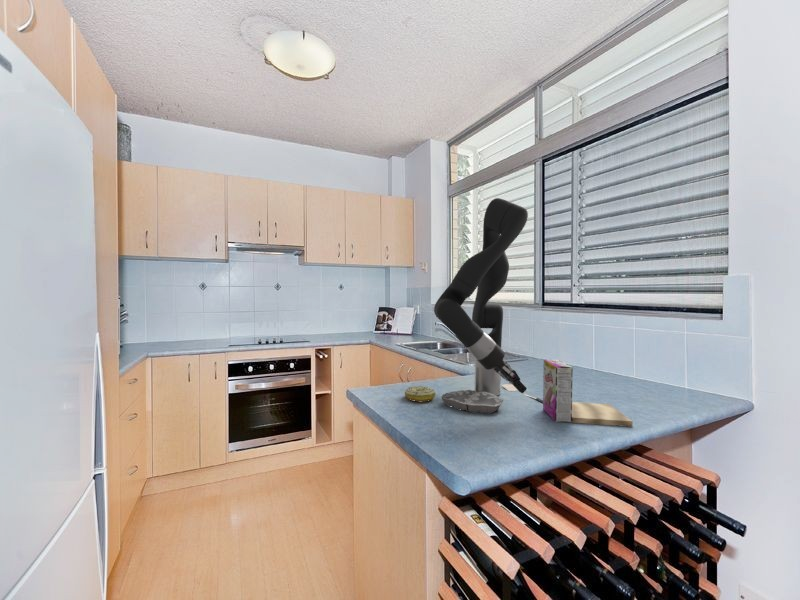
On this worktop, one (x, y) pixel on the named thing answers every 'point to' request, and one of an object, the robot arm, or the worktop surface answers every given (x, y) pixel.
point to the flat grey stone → (472, 401)
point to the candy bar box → (557, 390)
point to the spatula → (512, 388)
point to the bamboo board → (598, 414)
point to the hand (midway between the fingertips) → (523, 390)
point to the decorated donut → (420, 393)
